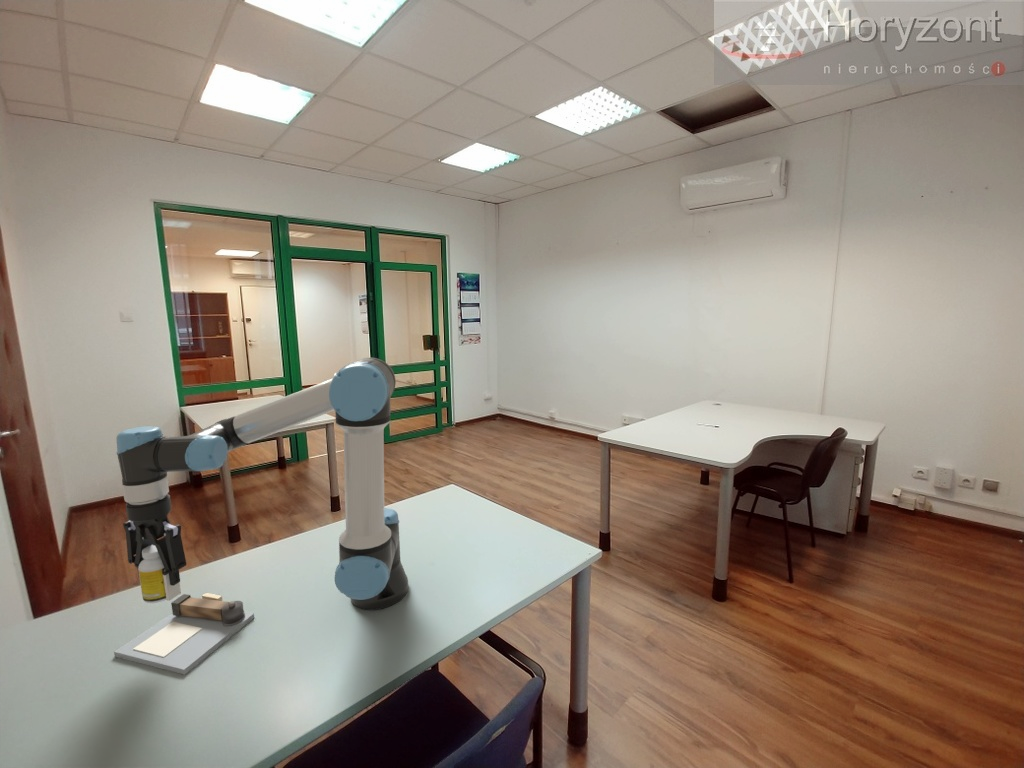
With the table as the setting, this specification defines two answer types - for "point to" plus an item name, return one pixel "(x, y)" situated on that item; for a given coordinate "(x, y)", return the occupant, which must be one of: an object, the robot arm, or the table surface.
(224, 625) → the board
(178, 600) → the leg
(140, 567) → the pill bottle
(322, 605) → the table surface
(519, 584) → the table surface
